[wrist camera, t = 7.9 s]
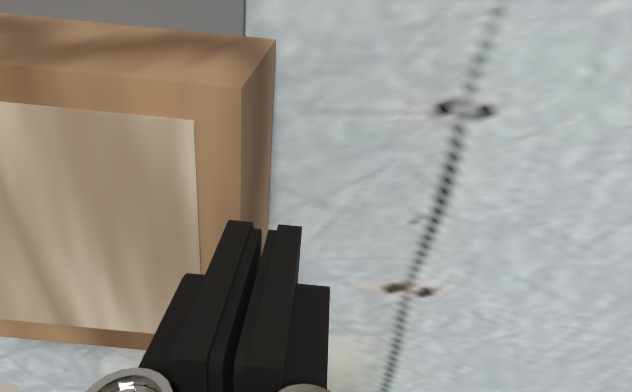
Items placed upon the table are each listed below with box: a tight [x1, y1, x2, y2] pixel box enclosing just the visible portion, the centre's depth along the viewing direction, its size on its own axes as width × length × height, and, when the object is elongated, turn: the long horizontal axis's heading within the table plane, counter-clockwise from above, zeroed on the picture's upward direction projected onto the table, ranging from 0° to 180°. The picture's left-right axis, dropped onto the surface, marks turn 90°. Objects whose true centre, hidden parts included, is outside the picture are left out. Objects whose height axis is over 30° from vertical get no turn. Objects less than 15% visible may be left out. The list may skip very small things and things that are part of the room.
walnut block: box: [0, 13, 276, 350], centre depth 14 cm, size 6×8×11 cm
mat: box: [0, 0, 246, 37], centre depth 17 cm, size 12×14×1 cm
